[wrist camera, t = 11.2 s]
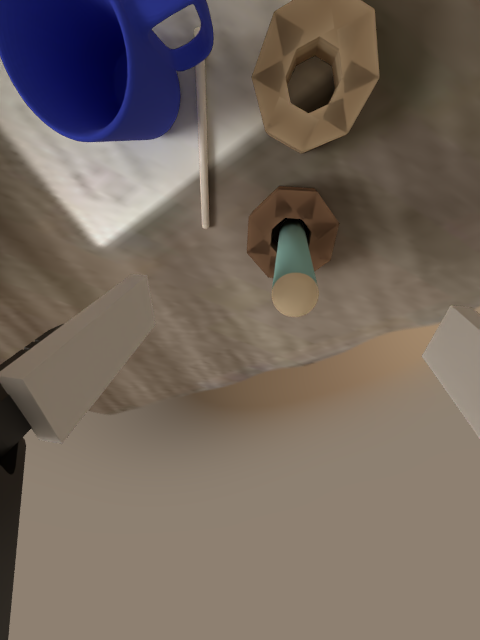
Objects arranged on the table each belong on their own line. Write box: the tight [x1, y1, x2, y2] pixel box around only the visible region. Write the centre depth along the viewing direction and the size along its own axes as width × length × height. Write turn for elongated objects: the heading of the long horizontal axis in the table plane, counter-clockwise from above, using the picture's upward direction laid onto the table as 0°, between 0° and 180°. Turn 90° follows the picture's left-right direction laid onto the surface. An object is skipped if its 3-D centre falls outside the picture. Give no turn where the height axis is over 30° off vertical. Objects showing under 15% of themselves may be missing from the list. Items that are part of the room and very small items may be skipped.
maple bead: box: [252, 0, 379, 154], centre depth 19 cm, size 8×8×4 cm
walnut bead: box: [247, 186, 339, 278], centre depth 25 cm, size 8×8×4 cm
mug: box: [0, 0, 214, 142], centre depth 17 cm, size 8×12×10 cm
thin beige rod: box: [194, 27, 209, 229], centre depth 23 cm, size 15×1×1 cm, turn 178°
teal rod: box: [272, 218, 319, 317], centre depth 19 cm, size 2×2×16 cm
